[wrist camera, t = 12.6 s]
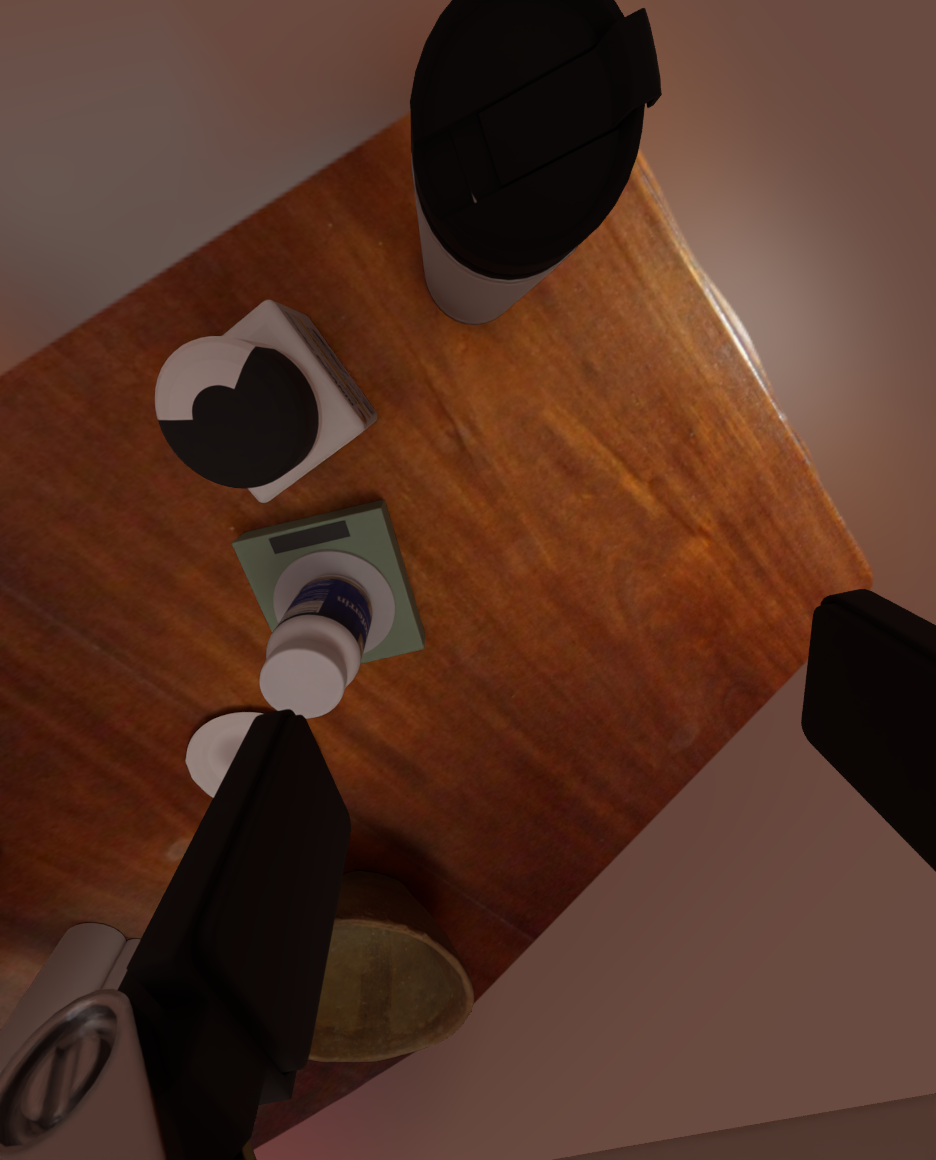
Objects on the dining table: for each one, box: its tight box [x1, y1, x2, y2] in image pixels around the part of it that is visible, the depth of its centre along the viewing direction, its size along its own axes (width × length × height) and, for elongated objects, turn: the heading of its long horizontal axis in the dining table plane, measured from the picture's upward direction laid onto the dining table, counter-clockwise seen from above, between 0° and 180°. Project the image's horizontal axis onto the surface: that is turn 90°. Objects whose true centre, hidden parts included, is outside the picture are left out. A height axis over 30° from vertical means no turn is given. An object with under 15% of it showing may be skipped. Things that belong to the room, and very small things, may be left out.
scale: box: [232, 500, 425, 664], centre depth 37 cm, size 12×11×3 cm
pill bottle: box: [260, 575, 373, 718], centre depth 31 cm, size 6×6×10 cm
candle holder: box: [186, 712, 263, 798], centre depth 43 cm, size 12×12×4 cm
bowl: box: [308, 871, 474, 1062], centre depth 49 cm, size 22×23×10 cm
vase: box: [0, 923, 141, 1073], centre depth 45 cm, size 11×7×20 cm, turn 38°
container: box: [155, 300, 378, 503], centre depth 27 cm, size 8×8×13 cm
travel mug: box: [410, 0, 662, 325], centre depth 21 cm, size 6×7×20 cm
